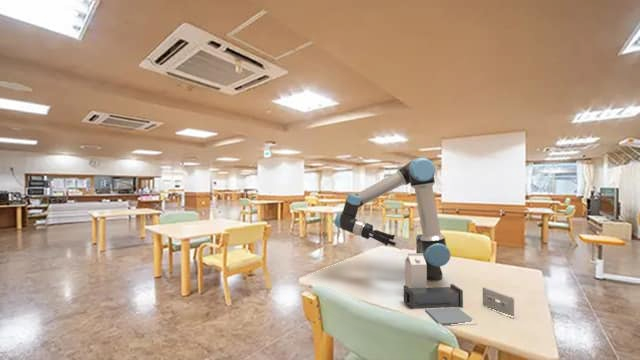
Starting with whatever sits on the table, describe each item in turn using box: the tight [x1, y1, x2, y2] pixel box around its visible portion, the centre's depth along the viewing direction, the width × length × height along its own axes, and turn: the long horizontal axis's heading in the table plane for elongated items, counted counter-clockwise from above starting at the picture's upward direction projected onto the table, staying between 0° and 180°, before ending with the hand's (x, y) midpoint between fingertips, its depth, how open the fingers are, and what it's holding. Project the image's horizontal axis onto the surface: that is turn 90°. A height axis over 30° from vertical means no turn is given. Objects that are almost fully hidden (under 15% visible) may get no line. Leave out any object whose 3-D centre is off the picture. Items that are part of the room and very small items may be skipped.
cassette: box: [482, 286, 515, 317], centre depth 107 cm, size 12×2×8 cm, turn 25°
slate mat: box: [424, 307, 473, 326], centre depth 102 cm, size 14×11×1 cm
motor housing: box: [403, 283, 464, 310], centre depth 113 cm, size 23×7×7 cm, turn 95°
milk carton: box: [404, 252, 428, 288], centre depth 123 cm, size 7×7×19 cm
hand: (404, 245), depth 128 cm, fingers open, 13 cm apart
